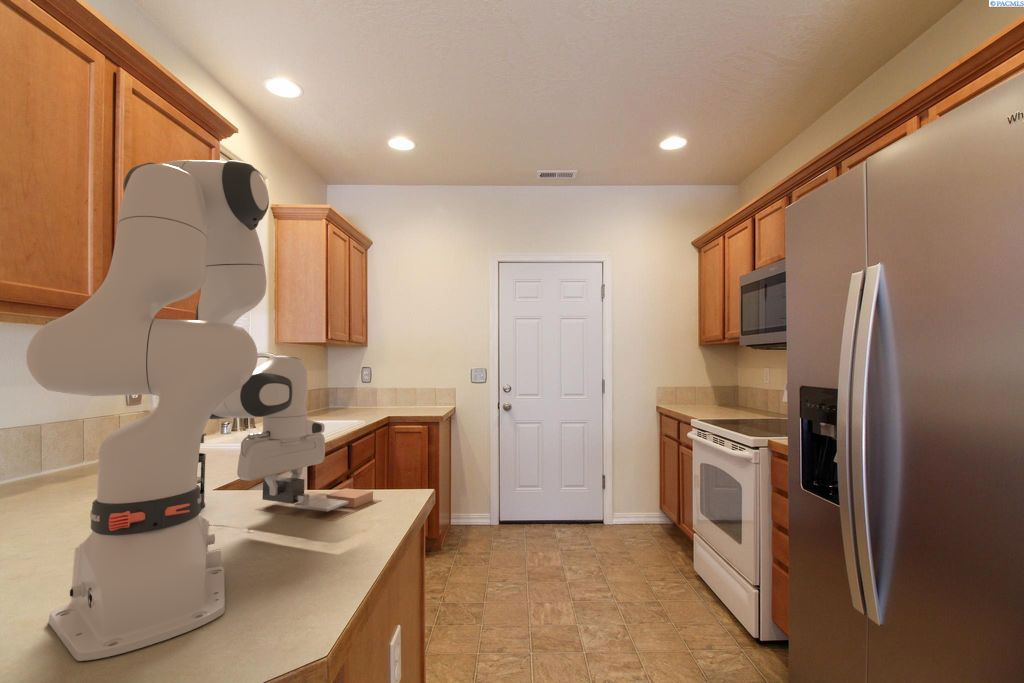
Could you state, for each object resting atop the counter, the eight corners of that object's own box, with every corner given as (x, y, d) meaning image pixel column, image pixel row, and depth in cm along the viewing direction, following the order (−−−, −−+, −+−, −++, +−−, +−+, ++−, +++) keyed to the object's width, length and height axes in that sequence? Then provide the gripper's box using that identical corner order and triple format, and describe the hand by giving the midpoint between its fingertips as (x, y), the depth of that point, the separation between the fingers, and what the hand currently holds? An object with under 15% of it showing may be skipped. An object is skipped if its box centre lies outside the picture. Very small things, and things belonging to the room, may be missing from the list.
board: (382, 507, 103) (382, 500, 103) (333, 528, 89) (333, 521, 89) (309, 498, 111) (309, 491, 111) (254, 516, 97) (254, 509, 97)
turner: (348, 503, 96) (348, 481, 96) (327, 511, 90) (327, 488, 91) (279, 494, 103) (280, 474, 104) (256, 501, 98) (257, 480, 98)
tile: (345, 497, 106) (372, 500, 103) (326, 504, 100) (354, 508, 97) (345, 488, 106) (373, 491, 103) (326, 494, 100) (354, 498, 97)
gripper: (252, 435, 89) (251, 506, 88) (330, 424, 108) (329, 482, 107) (230, 434, 91) (228, 503, 91) (310, 423, 110) (309, 480, 109)
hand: (283, 492), depth 99 cm, fingers closed on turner, 3 cm apart
